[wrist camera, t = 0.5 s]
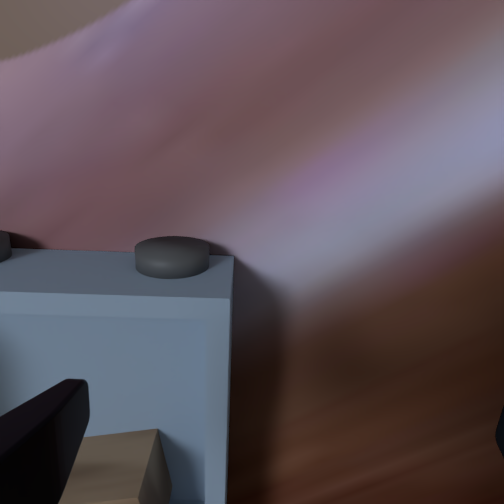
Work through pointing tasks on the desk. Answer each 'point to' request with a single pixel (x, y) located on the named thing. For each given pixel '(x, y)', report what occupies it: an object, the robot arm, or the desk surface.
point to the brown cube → (119, 470)
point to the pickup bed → (129, 345)
